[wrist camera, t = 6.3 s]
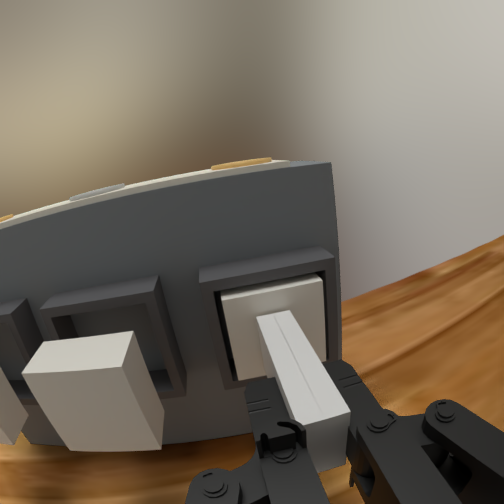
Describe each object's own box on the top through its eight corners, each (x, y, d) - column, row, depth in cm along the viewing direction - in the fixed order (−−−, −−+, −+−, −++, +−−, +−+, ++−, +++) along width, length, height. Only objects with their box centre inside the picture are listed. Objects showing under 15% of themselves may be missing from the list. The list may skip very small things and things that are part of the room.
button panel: (318, 369, 24) (299, 152, 19) (350, 429, 18) (347, 152, 13) (47, 405, 22) (-26, 226, 17) (23, 460, 15) (-85, 252, 10)
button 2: (311, 336, 17) (306, 263, 16) (326, 360, 15) (322, 280, 14) (233, 353, 17) (218, 279, 16) (238, 380, 15) (221, 300, 13)
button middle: (164, 410, 13) (133, 330, 12) (161, 449, 11) (121, 366, 9) (81, 415, 13) (43, 341, 11) (70, 450, 10) (21, 373, 9)
